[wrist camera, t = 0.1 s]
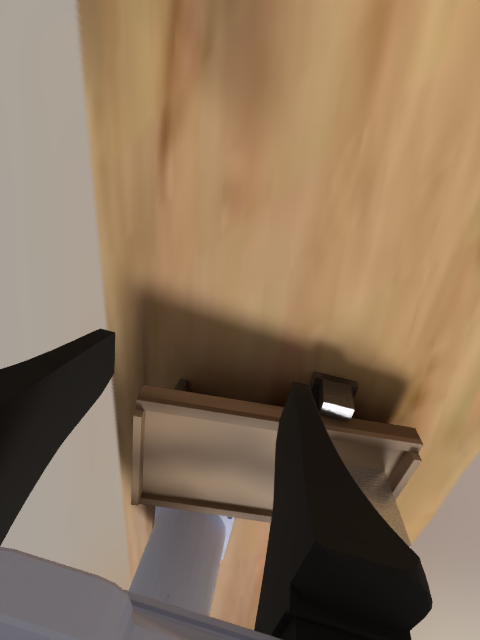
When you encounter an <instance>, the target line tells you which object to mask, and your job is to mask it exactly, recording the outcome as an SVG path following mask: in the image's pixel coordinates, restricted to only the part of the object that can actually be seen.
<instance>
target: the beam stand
mask: <svg viewBox="0 0 480 640" xmlns="http://www.w3.org/2000/svg"><path fill="white" fill-rule="evenodd" d="M186 387H187V381H186V380H182V379H180V380H179V382H178V384H177V386H176V388H175V389H174V390H179V391H186ZM310 389H311V392H312V395H313V398H314V400H315V403H316V406H317V408H318V411H319V413H320V414H324V415H328V416H332V417H336V418H340V419H344V420H348V421H350V419H351V417H352V415H353V413H354V411H355V408H354V402H353V398H354V396H355V393H356V391H357V389H358V384H357V382H354V381H350V380H346V379H342V378H338V377H334V376H330V375H326V374H322V373H318V372H315V375H314V378H313V380H312V383H311V386H310Z"/></svg>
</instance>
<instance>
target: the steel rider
mask: <svg viewBox="0 0 480 640" xmlns="http://www.w3.org/2000/svg"><path fill="white" fill-rule="evenodd" d="M345 466H346V468H347V469H348V471H349V473H350V474H351V476H352V477H353V479H354V480H355V482H356V483H357V485H358V486H359V488H360V489H361V490H362V492H363V493H364V494H365V496H366V497H367V498H368V500H369V501H370V502H371V504H372V505H373V506H374V508H375V509H376V510H377V511H378V513H379V514H380V515H381V516H382V517H383V518H384V520H385V521H386V522H387V523H388V524H389V526H390V527H391V528H392V529H393V530H394V531H395V532H396V533H397V534H398V535H399V537H400V538H401V539H402V540H403V541H404V542H405V543H406V544H407V545H408V546H409V547H410V548H411V547H412V546H411V543H410V540H409V538H408V535H407V532H406V529H405V526H404V524H403V521H402V518H401V515H400V512H399V510H398V507H397V504H396V501H395V498H394V495H393V493H392V490H391V487H390V484H389V481H388V479H387V476H386V473H385V471H381V470H375V469H368V468H361V467H355V466H348V465H345Z"/></svg>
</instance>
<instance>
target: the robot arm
mask: <svg viewBox="0 0 480 640" xmlns="http://www.w3.org/2000/svg"><path fill="white" fill-rule="evenodd" d="M114 362H115V332H111V331H107V330H104V329H99V330H96V331H94V332H91V333H89V334H87V335H85V336H83V337H80V338H78V339H76V340H75V341H72V342H70V343H67V344H65V345H63V346H61V347H58V348H56V349H54V350H52V351H49V352H47V353H44V354H42V355H39V356H37V357H34V358H32V359H30V360H27V361H24V362H21V363H18V364H15V365H12V366H9V367H7V368H3V369H0V546H1V543H2V542H3V540H4V538H5V536H6V535H7V533H8V531H9V529H10V527H11V525H12V524H13V522H14V520H15V518H16V516H17V515H18V513H19V511H20V510H21V508H22V506H23V505H24V503H25V501H26V499H27V498H28V496H29V494H30V493H31V491H32V489H33V488H34V486H35V484H36V483H37V481H38V480H39V478H40V476H41V475H42V473H43V472H44V470H45V468H46V467H47V465H48V464H49V462H50V461H51V459H52V457H53V456H54V455H55V453H56V452H57V450H58V449H59V447H60V446H61V444H62V443H63V442H64V440H65V439H66V438H67V436H68V435H69V434H70V433H71V431H72V430H73V429H74V427H75V426H76V425H77V424H78V423H79V422H80V420H81V419H82V418H83V417H84V415H85V414H86V413H87V411H88V410H89V409H90V408H91V407H92V405H93V404H94V403H95V402H96V400H97V399H98V398H99V396H100V395H101V394H102V392H103V391H104V389H105V387H106V386H107V384H108V383H109V381H110V379H111V377H112V376H113V374H114ZM234 519H235V517H228V516H221V515H214V514H207V513H200V512H193V511H186V510H179V509H172V508H165V507H158V506H156V507H155V520H154V527H153V530H152V532H151V535H150V537H149V540H148V542H147V545H146V547H145V550H144V553H143V555H142V558H141V560H140V563H139V565H138V568H137V571H136V573H135V576H134V578H133V581H132V583H131V586H130V588H129V591H127V590H123V589H122V588H120V587H119V586H118V585H117V584H115V583H114V582H111V581H109V580H107V579H105V578H102V577H100V576H98V575H95V574H92V573H88V572H85V571H82V570H79V569H76V568H72V567H69V566H66V565H63V564H60V563H57V562H53V561H50V560H47V559H44V558H40V557H37V556H34V555H31V554H28V553H24V552H21V551H18V550H15V549H9V548H4V547H0V640H411V636H410V630H411V629H412V628H413V627H415V626H416V625H417V624H418V623H419V622H420V621H421V620H423V619H424V618H425V616H426V615H427V614H428V613H429V611H430V610H431V609H432V598H431V594H430V590H429V586H428V583H427V579H426V575H425V573H424V570H423V567H422V565H421V561H420V558H419V557H418V556H417V555H416V553H415V552H414V551H413V550H412V549H411V548H410V547H409V546H408V545H407V544H406V543H405V542H404V541H403V540H402V539H401V538H400V537H399V535H398V534H397V533H396V532H395V531H394V530H393V529H392V528H391V527H390V526H389V524H388V523H387V522H386V521H385V520H384V518H383V517H382V516H381V515H380V514H379V513H378V511H377V510H376V509H375V508H374V506H373V505H372V504H371V502H370V501H369V500H368V498H367V497H366V496H365V494H364V493H363V492H362V490H361V489H360V488H359V486H358V485H357V483H356V482H355V480H354V479H353V477H352V476H351V474H350V473H349V471H348V469H347V468H346V466H345V465H344V463H343V461H342V459H341V458H340V456H339V454H338V452H337V450H336V448H335V446H334V444H333V442H332V441H331V438H330V436H329V434H328V432H327V430H326V428H325V425H324V423H323V421H322V418H321V416H320V414H319V411H318V408H317V406H316V403H315V400H314V398H313V395H312V392H311V389H310V387H309V386H307V385H303V384H299V383H296V382H293V384H292V387H291V390H290V392H289V395H288V398H287V401H286V403H285V406H284V409H283V411H282V414H281V417H280V420H279V426H278V432H277V438H276V448H275V472H274V498H273V511H272V518H271V526H270V533H269V540H268V547H267V554H266V561H265V567H264V574H263V580H262V586H261V593H260V599H259V605H258V611H257V617H256V623H255V629H254V630H251V629H247V628H244V627H241V626H238V625H235V624H232V623H228V622H225V621H222V620H219V619H216V618H212V617H209V615H210V610H211V605H212V600H213V595H214V590H215V586H216V581H217V576H218V571H219V566H220V561H222V560H223V557H224V554H225V550H226V547H227V543H228V540H229V536H230V533H231V529H232V526H233V523H234Z"/></svg>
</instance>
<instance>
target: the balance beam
mask: <svg viewBox="0 0 480 640" xmlns="http://www.w3.org/2000/svg"><path fill="white" fill-rule="evenodd" d="M283 409H284V407H280V406H273V405H267V404H261V403H255V402H248V401H242V400H236V399H230V398H223V397H217V396H211V395H205V394H198V393H192V392H186V391H179V390H173V389H167V388H161V387H154V386H148V385H143V386H142V388H141V390H140V393H139V395H138V397H137V400H136V411H135V413H134V416H133V453H132V502H131V505H138V504H144V505H151V506H158V507H165V508H172V509H179V510H186V511H193V512H200V513H207V514H214V515H221V516H228V517H235V518H242V519H249V520H256V521H263V522H270V523H271V518H272V511H273V498H274V472H275V448H276V438H277V432H278V426H279V420H280V417H281V414H282V411H283ZM319 414H320V413H319ZM320 416H321V418H322V421H323V423H324V425H325V428H326V430H327V432H328V434H329V436H330V438H331V441H332V442H333V444H334V446H335V448H336V450H337V452H338V454H339V456H340V458H341V459H342V461H343V463H344V465H348V466H355V467H361V468H368V469H375V470H381V471H385V473H386V476H387V479H388V481H389V484H390V487H391V490H392V493H393V495H394V498H395V500H396V498H397V497H398V495H399V494H400V493H401V491H402V490H403V488H404V487H405V485H406V484H407V482H408V481H409V479H410V478H411V476H412V475H413V473H414V472H415V470H416V469H417V467H418V466H419V464H420V463H421V461H422V460H421V458H420V456H419V454H418V452H419V451H420V449H421V448H422V446H423V443H422V441H421V439H420V437H419V435H418V433H417V431H416V429H415V428H411V427H405V426H399V425H393V424H386V423H380V422H374V421H367V420H361V419H355V418H351V419H350V421H348V420H344V419H340V418H336V417H332V416H328V415H324V414H320Z"/></svg>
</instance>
